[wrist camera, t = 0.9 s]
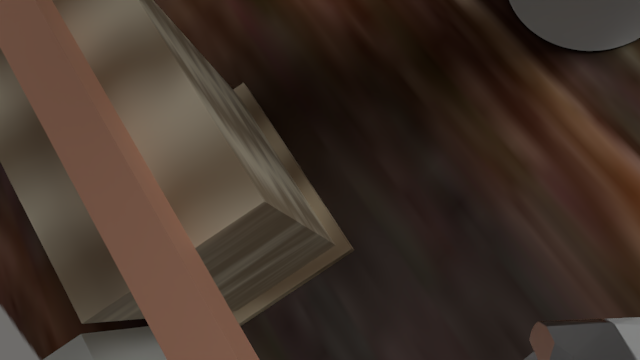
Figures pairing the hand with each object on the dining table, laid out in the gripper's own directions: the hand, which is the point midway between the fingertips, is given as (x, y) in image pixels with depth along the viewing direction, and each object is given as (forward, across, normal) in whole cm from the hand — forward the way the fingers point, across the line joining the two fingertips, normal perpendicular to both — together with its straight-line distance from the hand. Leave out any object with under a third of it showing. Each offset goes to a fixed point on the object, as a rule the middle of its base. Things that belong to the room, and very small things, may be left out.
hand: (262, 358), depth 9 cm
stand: (+38, +4, +24) cm, 46 cm away
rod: (+17, +7, +9) cm, 20 cm away
